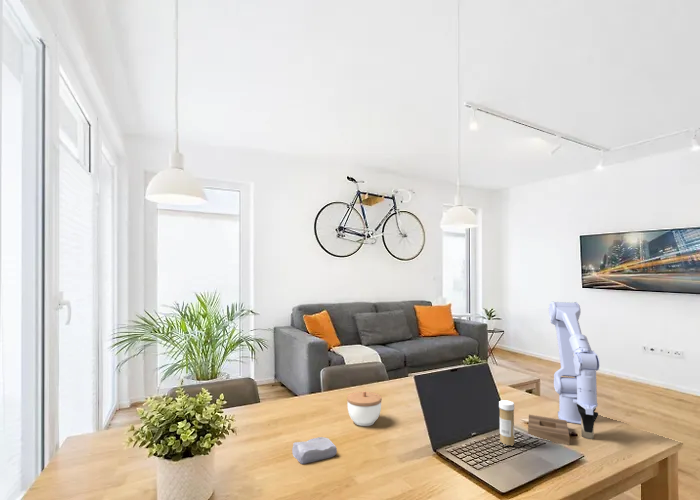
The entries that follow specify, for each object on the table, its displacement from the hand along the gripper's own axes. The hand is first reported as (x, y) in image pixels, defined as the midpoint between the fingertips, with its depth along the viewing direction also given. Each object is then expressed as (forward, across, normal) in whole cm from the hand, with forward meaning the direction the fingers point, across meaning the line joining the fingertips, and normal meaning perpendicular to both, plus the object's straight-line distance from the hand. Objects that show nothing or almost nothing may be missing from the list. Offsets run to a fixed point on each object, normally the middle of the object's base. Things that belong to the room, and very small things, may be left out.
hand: (587, 429), depth 128 cm
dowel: (+2, 0, 0) cm, 2 cm away
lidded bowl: (+3, +24, -72) cm, 76 cm away
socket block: (+2, +3, -12) cm, 13 cm away
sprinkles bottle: (+3, +19, -24) cm, 31 cm away
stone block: (+3, +53, -76) cm, 93 cm away
